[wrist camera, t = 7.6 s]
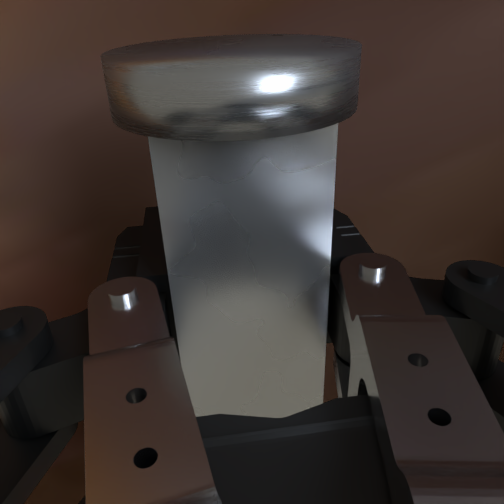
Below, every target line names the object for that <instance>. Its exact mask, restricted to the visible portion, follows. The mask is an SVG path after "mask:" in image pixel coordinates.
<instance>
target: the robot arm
mask: <svg viewBox="0 0 504 504" xmlns="http://www.w3.org/2000/svg"><path fill="white" fill-rule="evenodd" d="M503 341H504V268H503V267H501V266H498V265H495V264H492V263H488V262H483V261H475V260H466V261H459V262H456V263H453V264H451V265H450V266H449V267H448V268H447V270H446V274H445V279H444V280H433V279H421V278H413V277H409V276H408V274H407V272H406V270H405V268H404V266H403V265H402V264H401V263H400V262H399V261H397V260H396V259H394V258H392V257H389V256H386V255H382V254H377V253H374V252H373V250H372V249H371V248H370V246H369V245H368V244H367V242H366V241H365V239H364V238H363V237H362V235H360V234H359V231H358V230H357V229H356V227H354V224H353V223H352V222H351V220H350V219H349V218H348V216H346V215H345V214H343V213H341V212H339V211H337V210H336V209H333V226H332V244H331V263H330V281H329V299H328V318H327V336H326V343H333V345H334V360H333V365H334V372H335V379H336V385H337V392H338V398H336V399H333V400H331V401H328V402H325V403H323V404H320V405H317V406H315V407H312V408H309V409H306V410H304V411H301V412H298V413H296V414H293V415H290V416H287V417H283V418H270V417H256V416H243V415H230V414H214V415H207V416H199V417H196V416H195V413H194V409H193V405H192V402H191V398H190V395H189V391H188V388H187V384H186V380H185V377H184V373H183V370H182V366H181V363H180V353H179V347H178V340H177V333H176V326H175V319H174V312H173V305H172V299H171V292H170V285H169V278H168V271H167V264H166V258H165V251H164V244H163V237H162V230H161V223H160V216H159V210H158V207H146V210H145V217H144V224H143V226H134V227H127V228H126V229H125V230H124V231H123V232H122V233H121V234H120V235H119V236H118V237H117V240H116V244H115V250H114V253H113V258H112V261H111V265H110V269H109V273H108V278H107V282H105V283H103V284H101V285H100V286H98V287H97V288H95V289H94V290H93V291H92V292H91V294H90V295H89V298H88V308H87V309H86V310H84V311H82V312H79V313H77V314H74V315H72V316H68V317H65V318H62V319H58V320H55V321H52V322H49V323H48V320H47V317H46V314H45V313H44V312H43V311H42V310H41V309H38V308H35V307H30V306H19V307H12V308H7V309H4V310H0V504H24V502H25V501H26V500H27V498H28V497H29V495H30V494H31V493H32V491H33V490H34V489H35V487H36V486H37V484H38V483H39V482H40V480H41V479H42V477H43V476H44V475H45V473H46V472H47V471H48V469H49V468H50V466H51V465H52V464H53V462H54V461H55V460H56V458H57V457H58V455H59V454H60V453H61V451H62V450H63V449H64V447H65V446H66V444H67V443H68V442H69V440H70V439H71V438H72V436H73V435H74V433H75V431H76V429H77V426H78V422H80V421H82V420H84V442H85V496H84V498H83V499H82V500H81V501H80V502H79V503H78V504H504V363H503V362H501V361H500V360H498V358H499V355H500V352H501V348H502V345H503Z"/></svg>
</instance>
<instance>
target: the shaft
mask: <svg viewBox="0 0 504 504" xmlns="http://www.w3.org/2000/svg"><path fill="white" fill-rule="evenodd" d="M361 49H362V44H361V43H360V42H358V41H355V40H351V39H346V38H340V37H332V36H320V35H300V34H248V35H223V36H206V37H192V38H181V39H171V40H162V41H154V42H146V43H140V44H134V45H129V46H124V47H119V48H116V49H112V50H109V51H107V52H104V53H103V54H102V55H101V62H102V67H103V73H104V78H105V84H106V89H107V95H108V100H109V106H110V112H111V117H112V120H113V122H114V123H115V124H116V125H117V126H118V127H120V128H122V129H124V130H127V131H129V132H132V133H136V134H140V135H144V136H148V141H149V148H150V155H151V162H152V168H153V175H154V182H155V189H156V196H157V203H158V210H159V216H160V223H161V230H162V237H163V244H164V251H165V258H166V264H167V271H168V278H169V285H170V292H171V299H172V305H173V312H174V319H175V326H176V333H177V340H178V347H179V353H180V360H181V366H182V370H183V373H184V377H185V380H186V384H187V388H188V391H189V395H190V398H191V402H192V405H193V409H194V413H195V416H196V417H199V416H207V415H214V414H230V415H243V416H256V417H270V418H283V417H287V416H290V415H293V414H296V413H298V412H301V411H304V410H306V409H309V408H312V407H315V406H317V405H320V404H323V391H324V373H325V355H326V336H327V318H328V299H329V281H330V263H331V244H332V226H333V208H334V189H335V171H336V152H337V134H338V123H339V122H342V121H344V120H346V119H347V118H349V117H351V116H352V115H353V114H354V113H355V112H356V110H357V104H358V90H359V76H360V63H361Z"/></svg>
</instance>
